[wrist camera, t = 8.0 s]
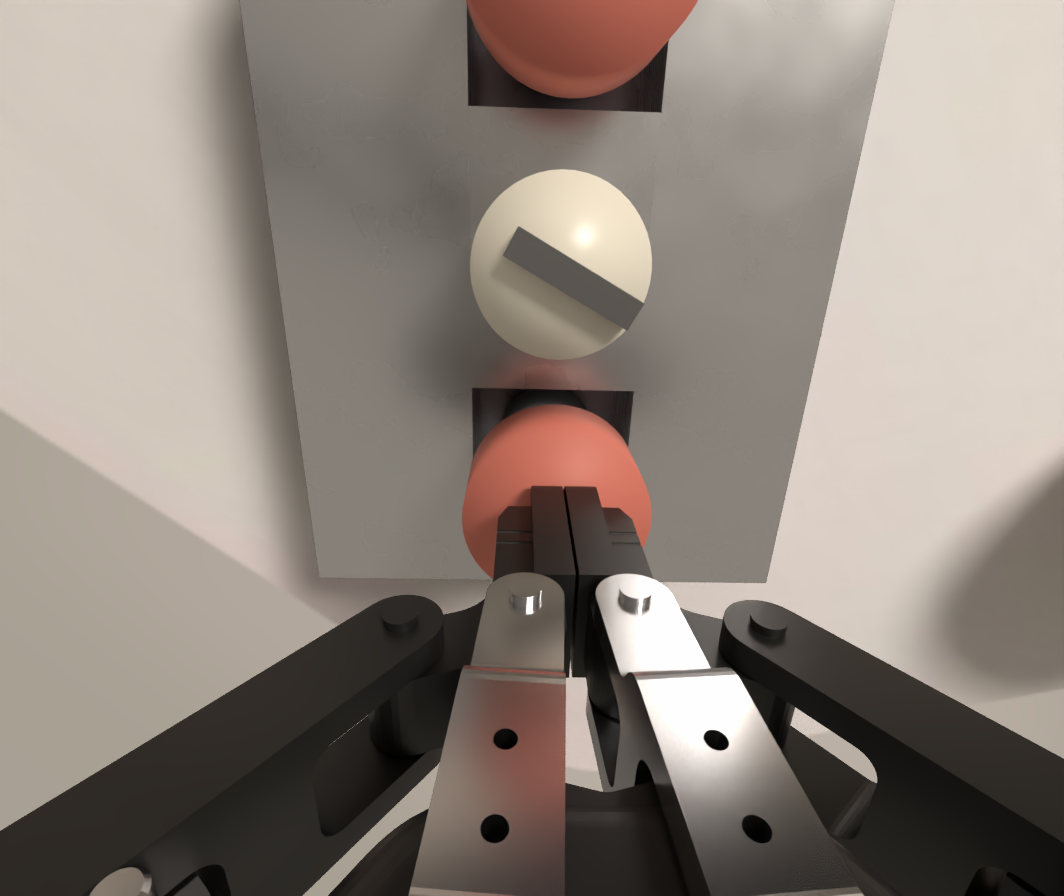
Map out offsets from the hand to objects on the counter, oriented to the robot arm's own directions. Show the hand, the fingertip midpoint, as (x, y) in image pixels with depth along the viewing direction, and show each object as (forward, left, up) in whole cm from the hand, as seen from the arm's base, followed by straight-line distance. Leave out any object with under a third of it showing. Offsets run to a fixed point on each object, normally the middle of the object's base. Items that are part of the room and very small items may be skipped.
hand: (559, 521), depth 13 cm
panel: (0, +6, -8) cm, 10 cm away
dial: (0, +6, -3) cm, 6 cm away
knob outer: (0, 0, -6) cm, 6 cm away
